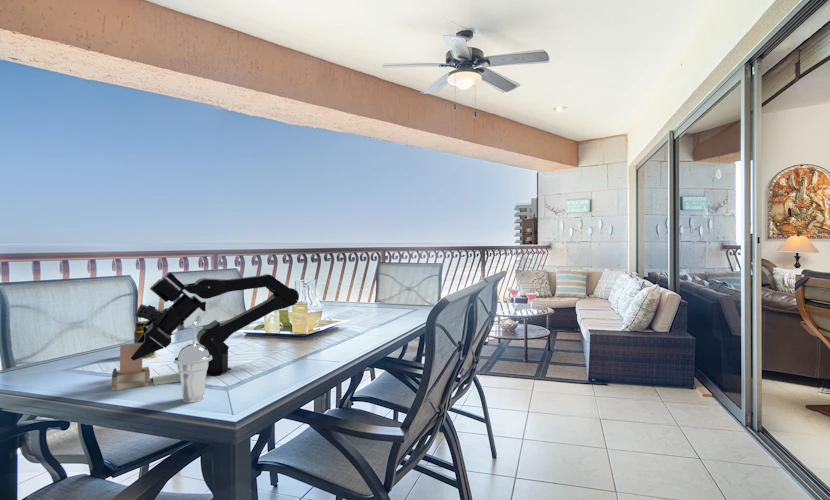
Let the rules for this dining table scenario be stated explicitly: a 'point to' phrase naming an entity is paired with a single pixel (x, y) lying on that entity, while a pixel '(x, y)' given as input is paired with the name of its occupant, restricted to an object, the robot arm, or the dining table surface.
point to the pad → (166, 378)
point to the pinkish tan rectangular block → (129, 359)
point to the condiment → (138, 334)
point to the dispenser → (130, 379)
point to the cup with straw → (193, 369)
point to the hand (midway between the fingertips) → (131, 355)
